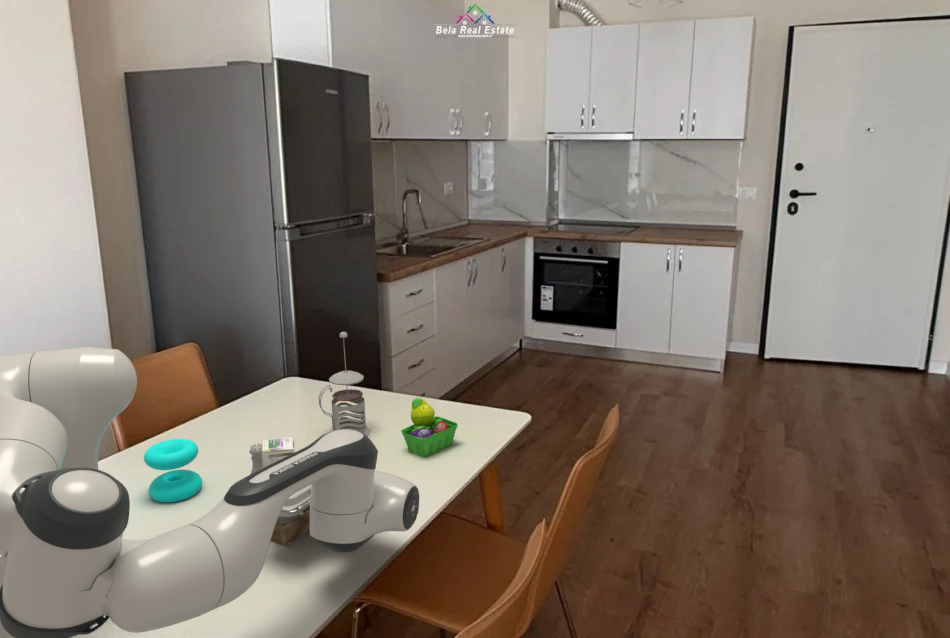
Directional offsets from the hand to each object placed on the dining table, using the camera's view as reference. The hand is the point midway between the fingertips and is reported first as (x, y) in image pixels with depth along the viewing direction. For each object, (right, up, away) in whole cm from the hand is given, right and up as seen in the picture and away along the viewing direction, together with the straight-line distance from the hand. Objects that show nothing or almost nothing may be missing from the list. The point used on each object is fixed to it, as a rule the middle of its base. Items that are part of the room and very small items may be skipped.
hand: (276, 471), depth 130 cm
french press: (+5, 0, +42) cm, 42 cm away
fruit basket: (+25, -2, +33) cm, 42 cm away
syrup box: (+1, -9, +2) cm, 9 cm away
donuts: (-24, -7, +14) cm, 29 cm away
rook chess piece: (-8, -6, +18) cm, 21 cm away
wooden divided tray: (+3, -9, +6) cm, 11 cm away
